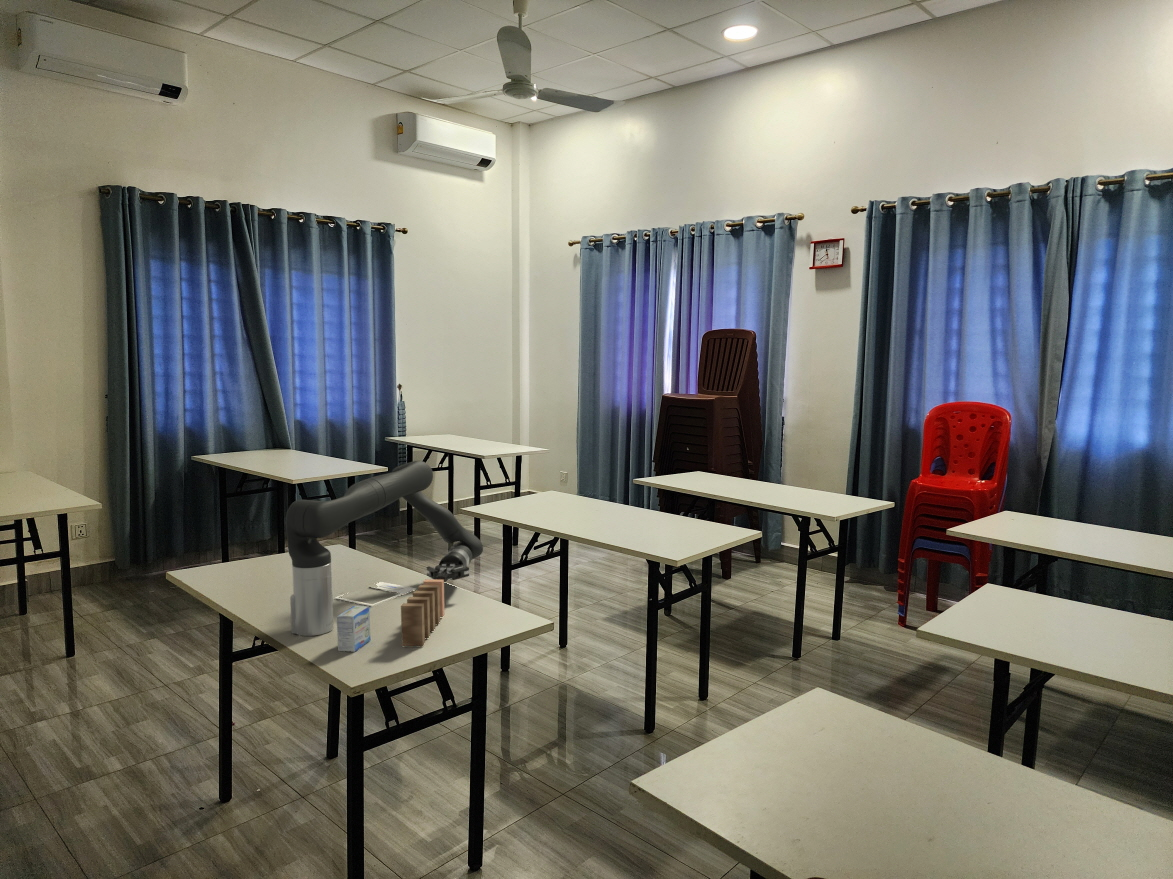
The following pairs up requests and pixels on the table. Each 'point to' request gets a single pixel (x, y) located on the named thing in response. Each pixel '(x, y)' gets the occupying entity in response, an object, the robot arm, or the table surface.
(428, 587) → the tile
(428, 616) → the tile
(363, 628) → the medicine box
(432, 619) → the tile
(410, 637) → the tile
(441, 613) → the tile
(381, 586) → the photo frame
